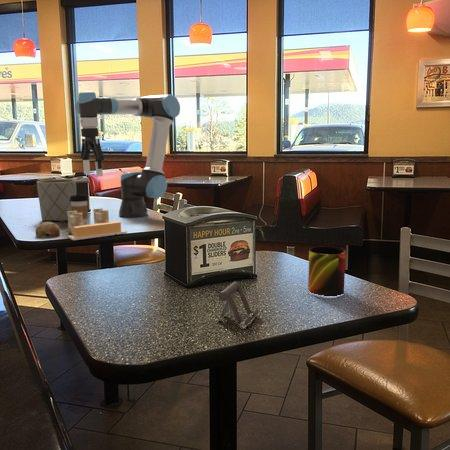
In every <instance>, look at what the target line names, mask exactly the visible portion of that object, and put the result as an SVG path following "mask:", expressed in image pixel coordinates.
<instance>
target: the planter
mask: <svg viewBox="0 0 450 450" xmlns="http://www.w3.org/2000/svg"><path fill="white" fill-rule="evenodd" d="M36 189H37V194H38V196H37V197H38V201H39V202H38V203H39V208H40V216H41V220H42V222H45V221H58V222H60V223H64V222H66V221H68V214H67V212H69V211H72V209H71V201H70V196H72V195H77V180H76V179H69V178H65V179H64V178H60V179H59V178H57V179H44V180H43V179H42V180H37V181H36Z"/></svg>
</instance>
